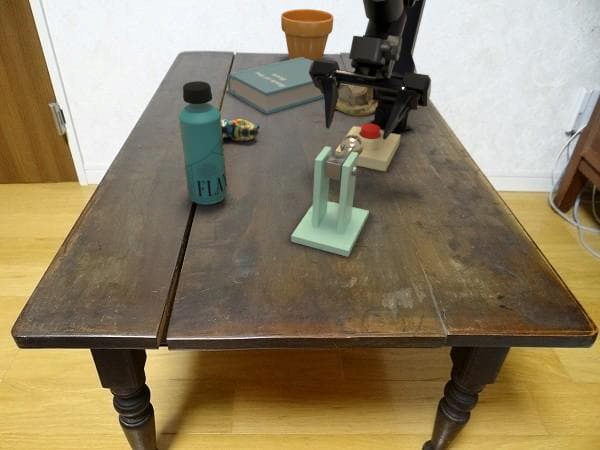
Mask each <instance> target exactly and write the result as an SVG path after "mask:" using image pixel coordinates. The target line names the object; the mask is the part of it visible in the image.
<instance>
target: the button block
mask: <svg viewBox="0 0 600 450" xmlns="http://www.w3.org/2000/svg"><path fill="white" fill-rule="evenodd" d="M361 127H362V126H357V125H356V126H355V125H353V126H352V127H351V128H350V130H349V131H348V133H347V134H346V135H345V137H346V136H348V135H356V136H358V137H360V138H361V140H362V141H363V145H364V148H363V151H362V153H361V154H360V155H359V156H358V160H357V167H362V168H367V169H372V170H376V171H380V172H386V171H387V169H388V167H389V165H390V164H391V161H392V159H393V158H394V156H395V153H396V152H397V150H398V147H399V146H400V142H401V137H402V135H401V134H398V133H390V135H389V136H388V137H387V139H386V140H385V139H383V134H384V131H383V130H381V129H380V134H379V138H377V139H367V138H363V137H361ZM340 145H341V143H340V144H339V145H338V146H337V148H336V149H335V151H334V155H338V156H339V155H340V154H341V149H340Z"/></svg>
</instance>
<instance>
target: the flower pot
mask: <svg viewBox="0 0 600 450" xmlns="http://www.w3.org/2000/svg"><path fill="white" fill-rule="evenodd" d="M280 21H281V22H280V24H281V26H280V27H281V30H282V32H283V33H284V35H285V41H286V48H287V54H288V60H291V59H295V58H300V57H304V58H305V59H309V60H312V61H315V60H316V59H317V58H318V59H324V54H325V50H326V47H327V42H328V38H329V35H330V34H331V33H333V27H334V15H333V14H332V13H330V12H329V11H326V10H325V11H324V10H321V9H320V10H319V9H310V8H301V9H300V8H298V9H289V10H287V11H284V12H282V13H281V15H280Z"/></svg>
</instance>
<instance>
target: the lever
mask: <svg viewBox="0 0 600 450" xmlns="http://www.w3.org/2000/svg"><path fill="white" fill-rule="evenodd" d="M340 144H341V145H340ZM340 144H339V145H340V149H341V154H340V155H339V156H338V155H335V154H331V157H330V158H329V159H328V161H327V162H326V172H325V177H327V178H329V179H333V180H336V181H341V176H342V165H343V164H344V162H345V161H346V159H347V158H348V156H349V155H350V153H351V152H357V153H358V156H359V155H360V154H361V153H362V151H363V148H364V145H363V141H362V140H361V138H360V137H358V136H356V135H348V136H346V135H345V136H344V137H343V139H342V140H341V142H340Z"/></svg>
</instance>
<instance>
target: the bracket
mask: <svg viewBox="0 0 600 450" xmlns="http://www.w3.org/2000/svg"><path fill="white" fill-rule="evenodd" d="M331 156H332V146H328V145H327V146H326V145H325V146H324V147H323V148H322V149H321V151H320V152H319V154H318V155H317V156H316V158H315V159H314V170H313V171H314V172H313V192H312V204H311V206H310V207H309V209H308V210H307V211H306V213H305V215H304V216H303V217H302V219H301V221H300V222H299V223H298V225H297V227H296V228H295V230H294V231H293V232H292V234H291V235H290V242H292V243H295V244H298V245H302V246H306V247H309V248H314V249H317V250H321V251H325V252H328V253H332V254H336V255H340V256H343V257H346V258H348V257H349V256H350V254H351V252H352V250H353V248H354V247H355V245H356V242H357V240H358V238H359V236H360V234H361V232H362V230H363V228H364V227H365V224H366V222H367V220H368V218H369V216H370V215H369V213H370V211H369V210H368V209H363V208H358V207H355V206H353V204H354V197H355V187H356V178H357V174H358V167H359V166H357V160H358V153H357V152H351V153H350V155H349V156H348V158H347V159H346V161H345V162H344V164H343V165H342V176H341V179H340V190H339V198H338V199H339V201H338V202H333V201H329V189H330V187H329V186H330V178H327V177H325V172H326V162H327V161H328V159H329V158H330V157H331Z"/></svg>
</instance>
